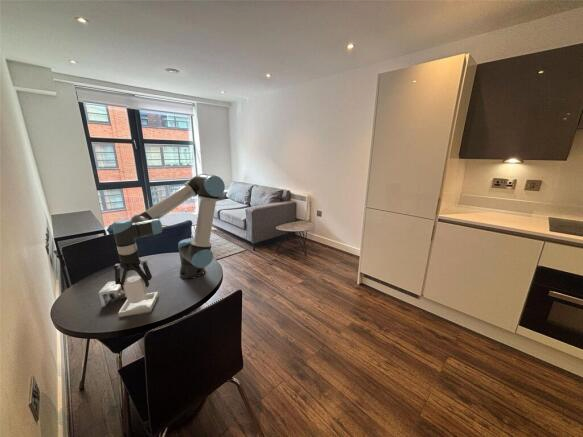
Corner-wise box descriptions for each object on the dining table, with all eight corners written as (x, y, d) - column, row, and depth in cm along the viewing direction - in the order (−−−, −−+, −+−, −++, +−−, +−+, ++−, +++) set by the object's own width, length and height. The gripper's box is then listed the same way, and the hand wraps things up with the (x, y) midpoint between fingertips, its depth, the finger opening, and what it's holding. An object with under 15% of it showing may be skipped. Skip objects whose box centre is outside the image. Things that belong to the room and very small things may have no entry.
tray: (158, 296, 126) (157, 291, 126) (151, 312, 114) (150, 307, 113) (130, 300, 123) (129, 296, 122) (119, 317, 111) (118, 312, 110)
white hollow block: (131, 292, 130) (127, 279, 127) (123, 303, 120) (120, 289, 118) (111, 295, 127) (107, 282, 125) (102, 306, 118) (98, 292, 116)
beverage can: (150, 294, 121) (146, 273, 118) (141, 304, 113) (136, 282, 110) (134, 294, 121) (130, 274, 118) (124, 304, 113) (119, 282, 110)
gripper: (154, 246, 116) (161, 286, 122) (106, 251, 111) (116, 292, 117) (150, 252, 109) (157, 294, 116) (98, 258, 104) (109, 301, 110)
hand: (137, 293), depth 116 cm, fingers closed on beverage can, 8 cm apart
